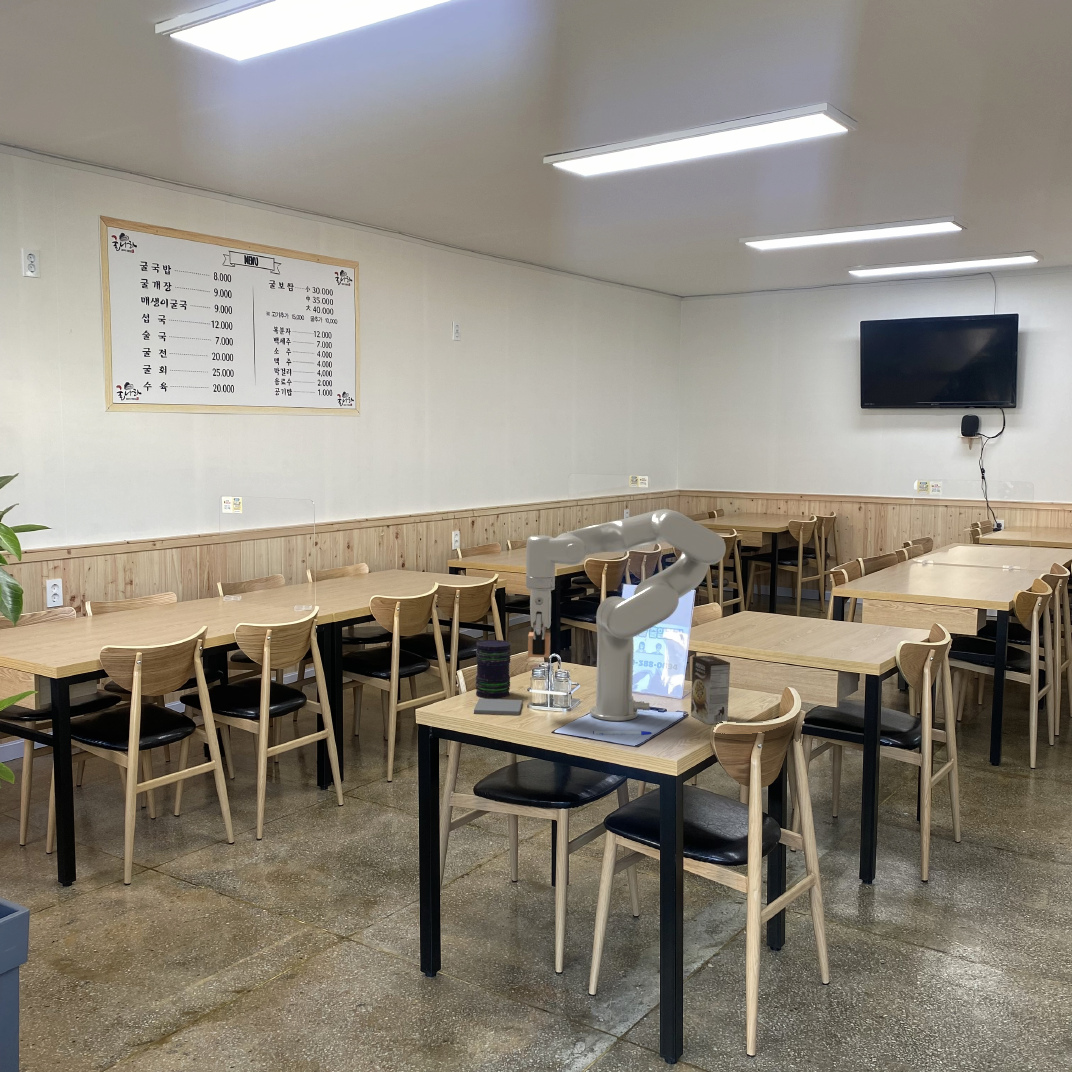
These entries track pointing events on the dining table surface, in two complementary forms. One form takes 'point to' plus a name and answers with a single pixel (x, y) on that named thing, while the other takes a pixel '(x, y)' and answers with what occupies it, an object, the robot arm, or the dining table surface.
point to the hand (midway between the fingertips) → (539, 651)
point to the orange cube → (547, 645)
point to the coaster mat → (498, 706)
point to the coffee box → (710, 689)
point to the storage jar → (493, 669)
